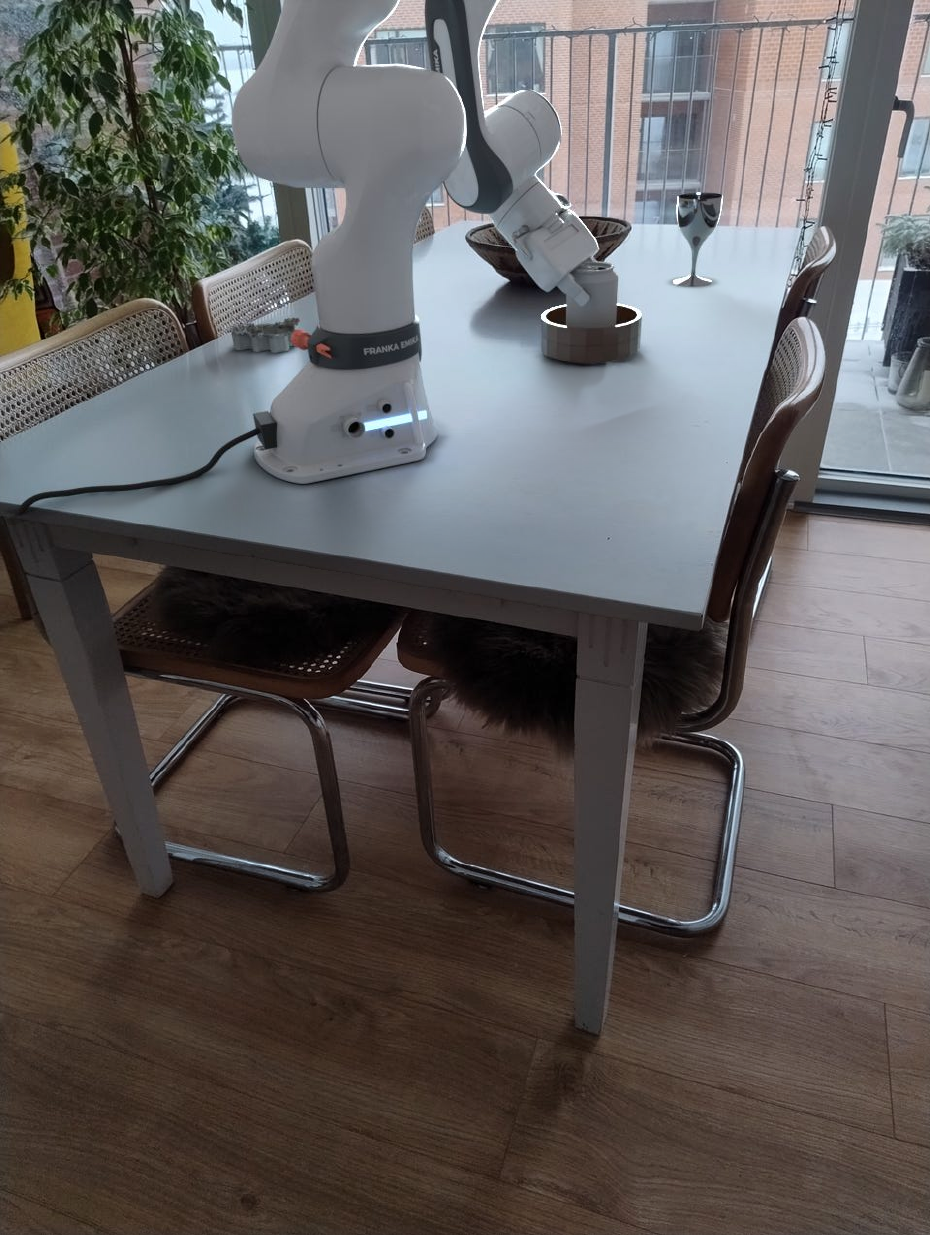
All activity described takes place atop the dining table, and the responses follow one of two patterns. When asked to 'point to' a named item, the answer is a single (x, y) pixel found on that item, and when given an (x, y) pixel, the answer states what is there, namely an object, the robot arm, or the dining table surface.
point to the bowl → (590, 337)
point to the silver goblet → (697, 227)
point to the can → (594, 296)
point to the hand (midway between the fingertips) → (596, 294)
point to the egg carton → (264, 336)
